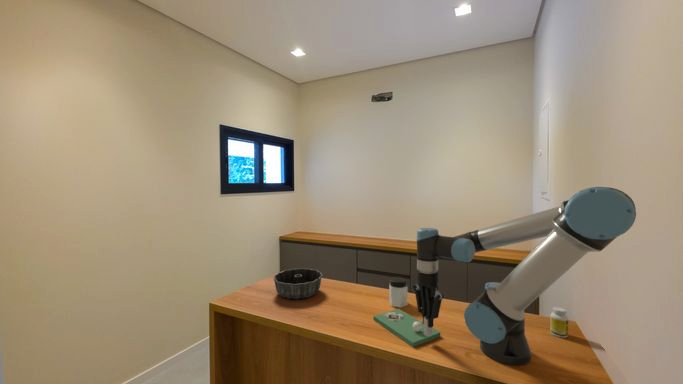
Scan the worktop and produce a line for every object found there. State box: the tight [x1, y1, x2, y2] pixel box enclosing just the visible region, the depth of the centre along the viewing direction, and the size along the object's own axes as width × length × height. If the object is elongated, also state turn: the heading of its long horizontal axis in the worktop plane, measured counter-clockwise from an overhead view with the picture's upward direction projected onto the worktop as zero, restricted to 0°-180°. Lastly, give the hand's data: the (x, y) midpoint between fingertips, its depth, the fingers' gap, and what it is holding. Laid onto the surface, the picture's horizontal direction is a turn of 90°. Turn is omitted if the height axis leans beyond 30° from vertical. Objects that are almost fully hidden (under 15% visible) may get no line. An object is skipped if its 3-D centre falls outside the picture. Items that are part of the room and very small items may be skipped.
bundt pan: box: [273, 267, 323, 300], centre depth 152 cm, size 26×26×10 cm
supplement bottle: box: [549, 306, 569, 339], centre depth 106 cm, size 5×5×10 cm
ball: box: [413, 322, 422, 332], centre depth 107 cm, size 4×4×4 cm
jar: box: [388, 276, 409, 309], centre depth 136 cm, size 9×8×12 cm
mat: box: [373, 308, 441, 348], centre depth 113 cm, size 24×14×2 cm, turn 29°
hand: (428, 334), depth 102 cm, fingers closed
